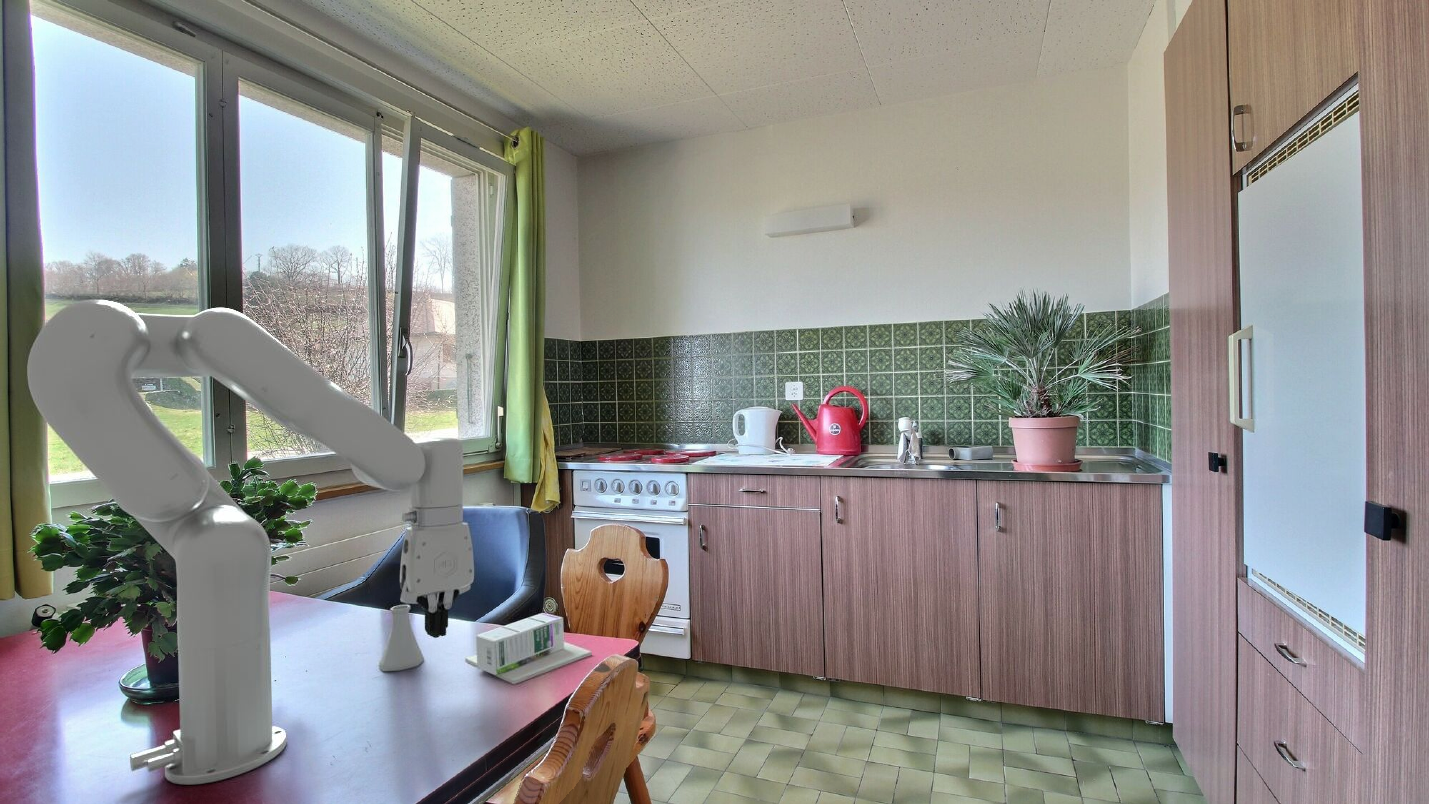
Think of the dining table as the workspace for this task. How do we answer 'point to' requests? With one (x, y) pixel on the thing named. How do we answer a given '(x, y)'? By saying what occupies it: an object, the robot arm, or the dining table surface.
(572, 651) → the mat
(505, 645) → the syrup box
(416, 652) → the flask
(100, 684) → the dining table surface
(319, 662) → the dining table surface
